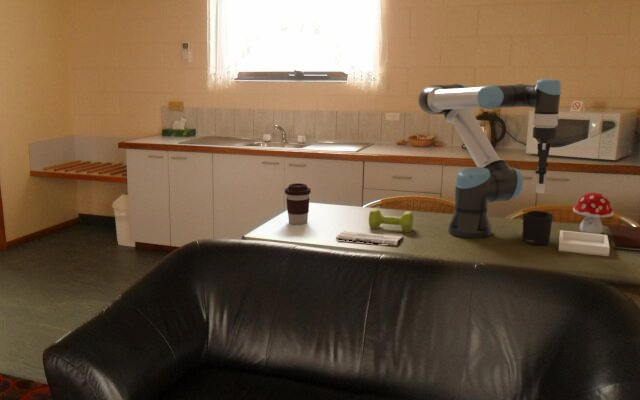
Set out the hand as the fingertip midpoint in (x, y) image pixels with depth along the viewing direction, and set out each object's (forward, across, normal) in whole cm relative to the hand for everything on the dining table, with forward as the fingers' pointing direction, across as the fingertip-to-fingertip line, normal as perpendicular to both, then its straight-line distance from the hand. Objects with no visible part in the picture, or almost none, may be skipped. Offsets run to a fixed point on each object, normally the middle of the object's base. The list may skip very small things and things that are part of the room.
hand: (540, 189), depth 200 cm
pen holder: (+19, -1, 0) cm, 19 cm away
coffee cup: (+18, -6, +87) cm, 90 cm away
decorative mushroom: (+19, +18, -18) cm, 32 cm away
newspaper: (+19, -18, +55) cm, 61 cm away
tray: (+19, -1, -15) cm, 24 cm away
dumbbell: (+19, -2, +51) cm, 55 cm away
